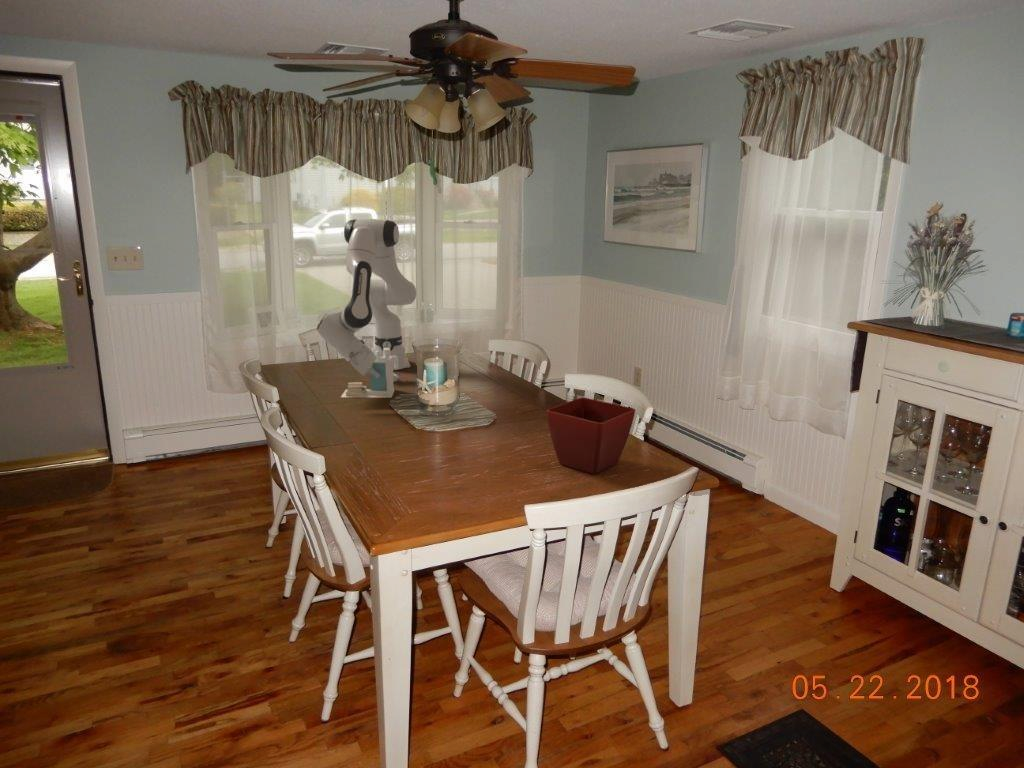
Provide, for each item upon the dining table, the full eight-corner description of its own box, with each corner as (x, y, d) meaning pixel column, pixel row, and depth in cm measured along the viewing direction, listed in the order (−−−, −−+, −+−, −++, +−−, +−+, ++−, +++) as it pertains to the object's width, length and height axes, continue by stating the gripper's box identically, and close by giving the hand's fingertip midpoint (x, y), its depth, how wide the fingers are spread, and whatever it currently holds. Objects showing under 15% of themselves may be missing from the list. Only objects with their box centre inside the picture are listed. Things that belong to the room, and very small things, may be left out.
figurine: (401, 384, 292) (401, 348, 288) (380, 387, 287) (378, 351, 283) (395, 380, 298) (394, 345, 294) (373, 383, 293) (372, 347, 289)
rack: (346, 393, 279) (344, 355, 275) (394, 393, 280) (393, 355, 276) (340, 401, 268) (338, 362, 264) (391, 401, 269) (390, 362, 265)
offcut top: (348, 387, 275) (348, 382, 274) (362, 386, 276) (362, 382, 275) (347, 391, 269) (347, 387, 268) (362, 391, 270) (361, 386, 269)
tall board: (371, 392, 274) (370, 362, 271) (386, 392, 275) (386, 362, 272) (370, 393, 273) (369, 363, 270) (386, 394, 273) (385, 363, 270)
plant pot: (580, 447, 224) (582, 396, 219) (633, 462, 212) (636, 408, 208) (543, 464, 209) (544, 409, 205) (598, 481, 198) (601, 423, 193)
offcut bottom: (349, 390, 277) (349, 385, 277) (366, 390, 277) (366, 386, 277) (345, 396, 269) (345, 391, 269) (363, 396, 270) (363, 391, 269)
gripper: (353, 350, 258) (381, 376, 261) (362, 339, 278) (388, 363, 281) (341, 362, 259) (370, 388, 262) (351, 350, 279) (377, 374, 282)
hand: (379, 375), depth 272 cm, fingers closed on tall board, 2 cm apart
